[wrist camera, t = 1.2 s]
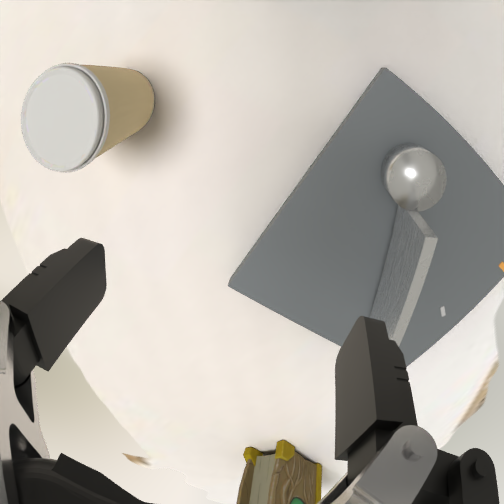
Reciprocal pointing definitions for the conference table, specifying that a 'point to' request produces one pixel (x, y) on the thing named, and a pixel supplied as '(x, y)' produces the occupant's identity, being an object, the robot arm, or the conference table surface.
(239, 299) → the conference table surface
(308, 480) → the decorative book
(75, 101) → the coffee cup
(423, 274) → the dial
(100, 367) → the conference table surface
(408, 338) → the dial plate
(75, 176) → the conference table surface
